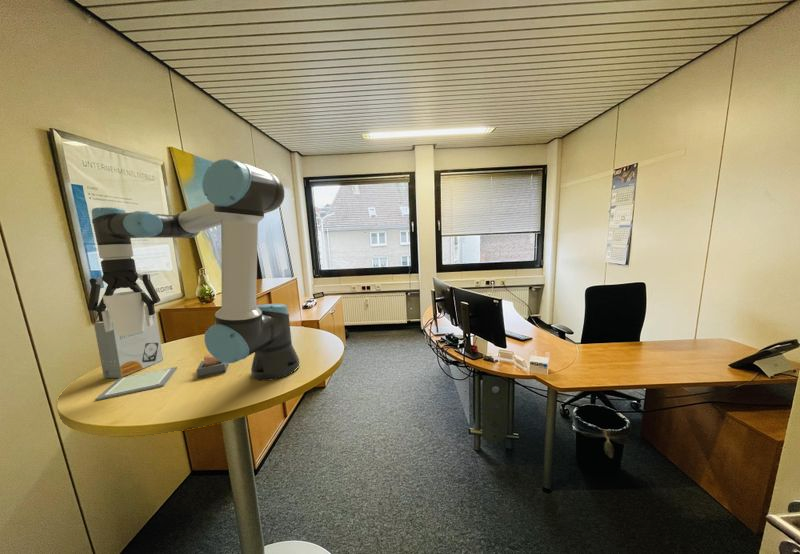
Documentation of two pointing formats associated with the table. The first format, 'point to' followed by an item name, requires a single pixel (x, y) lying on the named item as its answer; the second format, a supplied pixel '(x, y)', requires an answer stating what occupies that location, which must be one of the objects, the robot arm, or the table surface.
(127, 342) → the hard drive box
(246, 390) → the table surface
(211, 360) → the button
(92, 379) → the table surface
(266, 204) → the robot arm
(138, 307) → the foam cup
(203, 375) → the button housing
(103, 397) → the picture board
